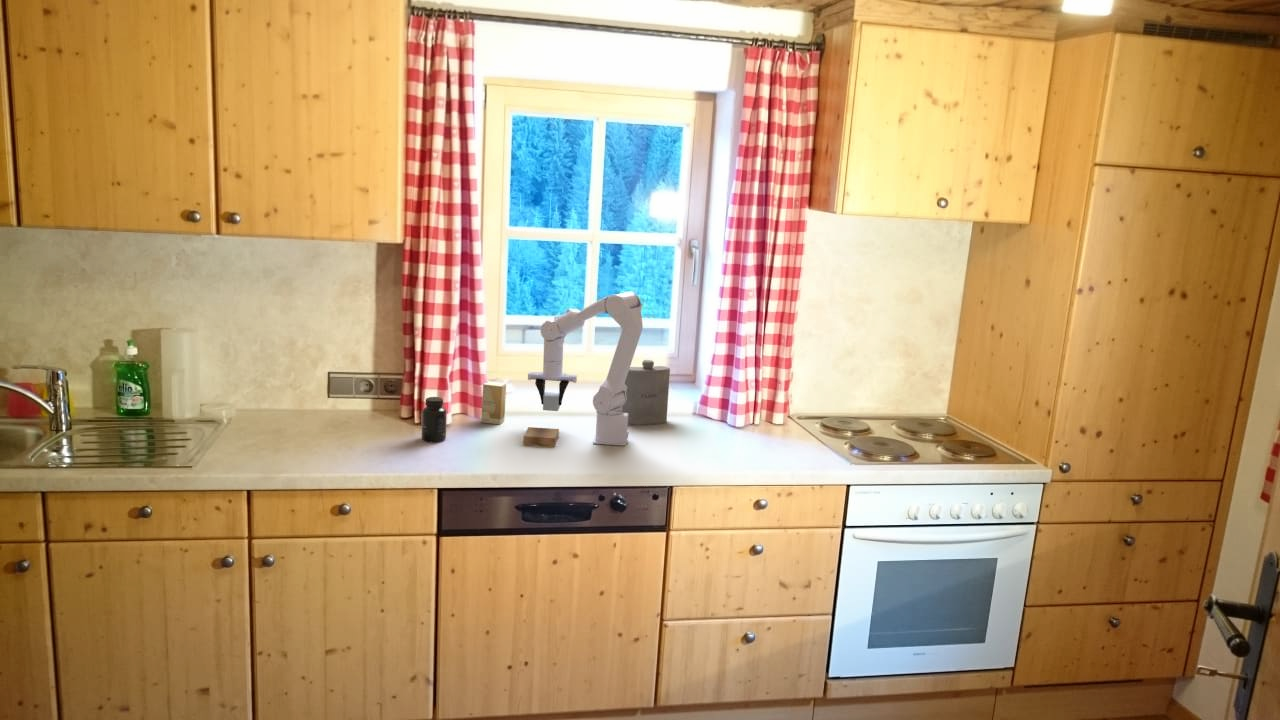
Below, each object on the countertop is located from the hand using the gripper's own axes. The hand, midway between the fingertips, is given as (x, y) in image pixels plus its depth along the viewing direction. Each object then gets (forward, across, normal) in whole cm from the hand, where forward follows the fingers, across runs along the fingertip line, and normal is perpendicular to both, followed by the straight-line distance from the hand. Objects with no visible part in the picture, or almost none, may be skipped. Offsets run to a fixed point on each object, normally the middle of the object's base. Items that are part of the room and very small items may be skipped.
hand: (551, 404), depth 281 cm
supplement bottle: (+8, +31, +18) cm, 37 cm away
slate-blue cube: (+1, 0, 0) cm, 1 cm away
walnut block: (+8, +1, +13) cm, 15 cm away
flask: (+8, -28, -13) cm, 32 cm away
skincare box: (+8, +18, -3) cm, 20 cm away
